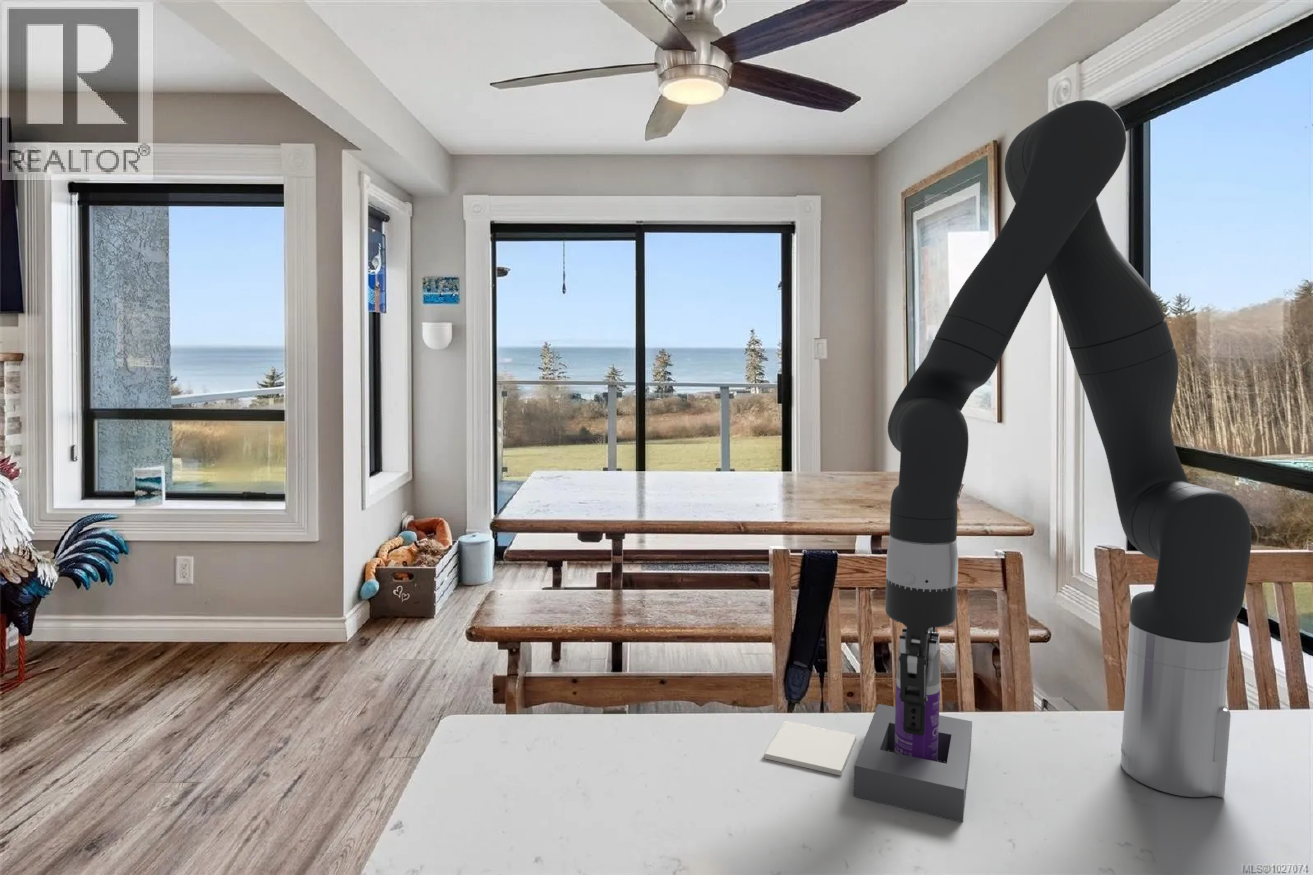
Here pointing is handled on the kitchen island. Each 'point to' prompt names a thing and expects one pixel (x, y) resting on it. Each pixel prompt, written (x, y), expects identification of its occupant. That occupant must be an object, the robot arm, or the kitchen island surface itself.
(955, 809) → the socket block
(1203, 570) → the robot arm
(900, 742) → the container
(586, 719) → the kitchen island surface
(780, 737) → the tile
